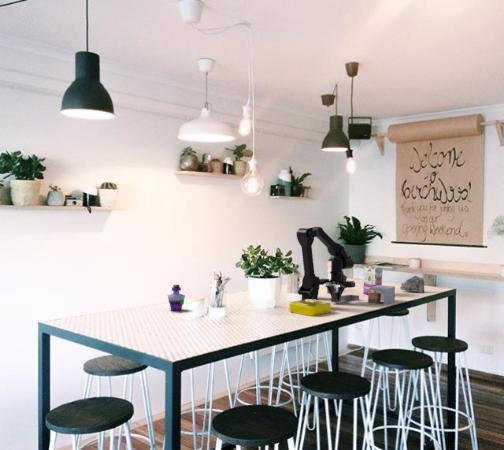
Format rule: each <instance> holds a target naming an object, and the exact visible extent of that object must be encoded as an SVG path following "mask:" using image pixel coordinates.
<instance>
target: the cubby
mask: <svg viewBox="0 0 504 450" xmlns="http://www.w3.org/2000/svg"><path fill="white" fill-rule="evenodd" d="M369 290H377V291H378V293H381V301H383V305H385V306H387V305H389V304H391V303H394V302H395V300H396V299H395V296H396V295H395V294H396V293H395V292H396V287H395V286H392V285H385V284H384V285H383V284H382V285H377V286H374V287H370V288H369Z"/></svg>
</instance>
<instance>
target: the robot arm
mask: <svg viewBox="0 0 504 450" xmlns="http://www.w3.org/2000/svg"><path fill="white" fill-rule="evenodd" d="M315 238H317V239H318V240H319V241H320V242H321V243H322V244H323V245H324V246H325V247H326V249H327V252H328V254H329V255H330V256H331V257H330V258H329V259H328V261H329V262H331V264H330V265H331V266H330V267H331V269H330V271H329V274H330V278H320V277H319V276H316V274H315V266H314V265H315V264H314V256H313V248H312V247H313V244H314V241H315ZM296 239H297V242H298V243H299V245H300V246H301V254H302V263H303V274H304V275H303V277H302V279H301V286H300V287H299V288H298V290H297V294H298V296H299V295H300V296H301V300H306V299H312V300H313V299H314V296H317V294H318V295H319V292H320V286H321V285H322V286H323V285H324V286H325V288H326V289H327V291H328V292H329V294H330V296H331V295H332V292H335V286H336V285H337V286H338V287H337V292H338V300H340V298H341V296H343V292H344V290H345V289H348V288H349V289H351V288H354V287H356V282H355V281H354V280H353V281H352V280H348V276H347V275H345V274H344V271H343V270H347V269H349V270H350V269H353V267H354V265H355V262H354V260H353V259H352V256H351V255H348V253H347V252H346V248H345V247H344V246H343V245H342V244H340V243H338V242H336V241H334V240H333V238H331V236H329V234H328V233H327V232H326V231H325V230H324V228H322V227H321V226H312V227H309V228H308V227H307V228H306V227H304V228H303V227H300V228H299V229H297V231H296ZM306 291H307V292H306Z"/></svg>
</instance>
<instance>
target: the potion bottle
mask: <svg viewBox="0 0 504 450" xmlns="http://www.w3.org/2000/svg"><path fill="white" fill-rule="evenodd" d="M172 286H173V287H171V291H173V293H170V294H168V295H167V299H168V303H169V307H170V311H171V312H181V311H182V309H183V305H184V304H185V298H186V297H185V294H183V293H180V291H181V290H182V289H181V288H182V287H180V286H181V285H180V284H173V285H172Z"/></svg>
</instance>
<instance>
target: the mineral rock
mask: <svg viewBox="0 0 504 450" xmlns="http://www.w3.org/2000/svg"><path fill="white" fill-rule="evenodd" d="M399 289H400V290H402V291H406V292H410V293H420V294H422V293H423V294H424V293H425V280H424V278H423V277H419V276H418V275H414V276H411V277H410V278H408V279H406V281H404V282H402V283H401V286H400V287H399Z"/></svg>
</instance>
